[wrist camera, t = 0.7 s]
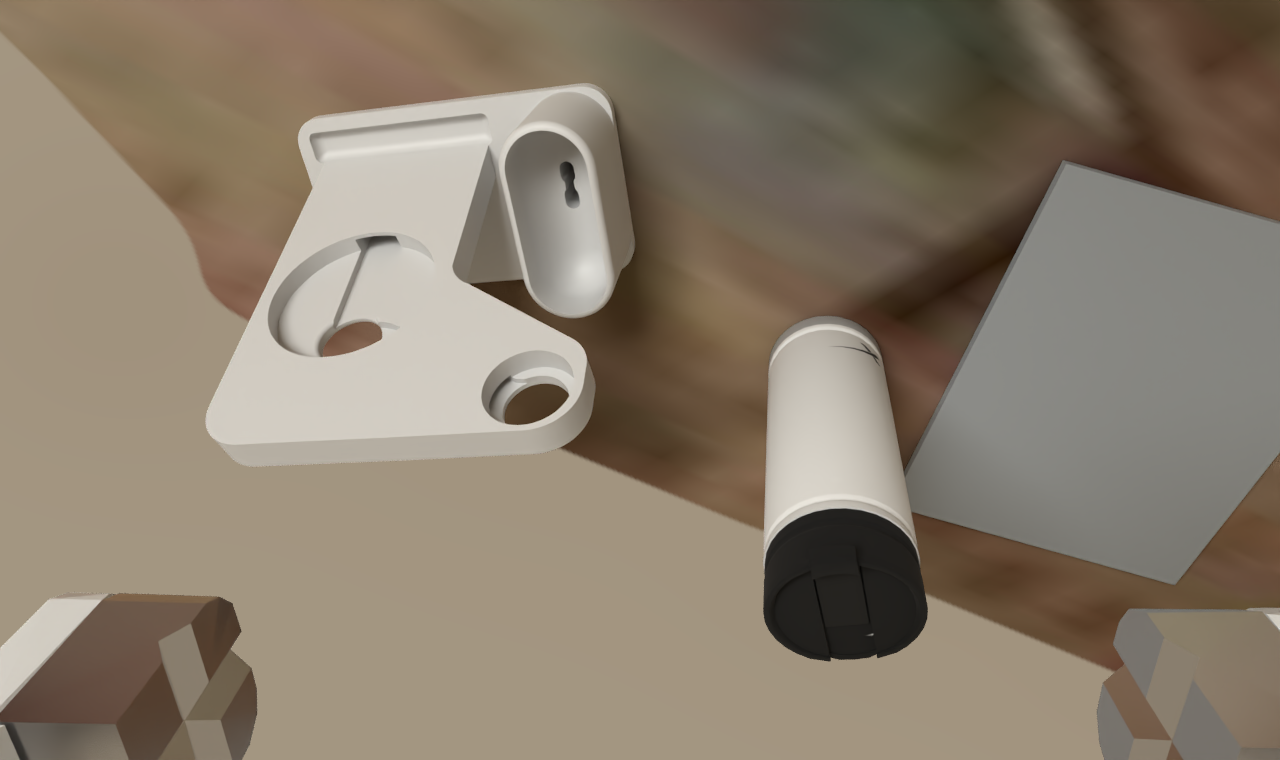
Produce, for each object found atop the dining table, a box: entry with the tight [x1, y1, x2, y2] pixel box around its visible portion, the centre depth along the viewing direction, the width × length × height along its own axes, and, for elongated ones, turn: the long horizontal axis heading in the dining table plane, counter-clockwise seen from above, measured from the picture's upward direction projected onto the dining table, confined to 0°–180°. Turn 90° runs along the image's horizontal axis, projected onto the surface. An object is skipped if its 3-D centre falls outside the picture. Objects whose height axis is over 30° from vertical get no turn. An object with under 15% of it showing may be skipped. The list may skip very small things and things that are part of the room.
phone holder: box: [206, 83, 635, 466], centre depth 41 cm, size 17×10×18 cm, turn 98°
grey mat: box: [904, 160, 1280, 585], centre depth 49 cm, size 22×18×1 cm
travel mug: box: [763, 316, 928, 661], centre depth 42 cm, size 6×7×20 cm
